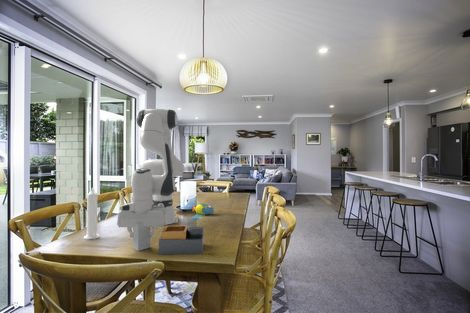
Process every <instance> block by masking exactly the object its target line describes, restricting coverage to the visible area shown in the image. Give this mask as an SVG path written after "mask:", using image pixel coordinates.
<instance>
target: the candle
mask: <svg viewBox="0 0 470 313" xmlns="http://www.w3.org/2000/svg"><path fill="white" fill-rule="evenodd" d="M86 195H87V196H86V235H84V236H83V240H85V241H86V240H95V239H99V238H100V236H101V235H100V234H99V233H98V192H96V191H95V189H94V187H91V190H90V191H89V193H87V194H86Z"/></svg>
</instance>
